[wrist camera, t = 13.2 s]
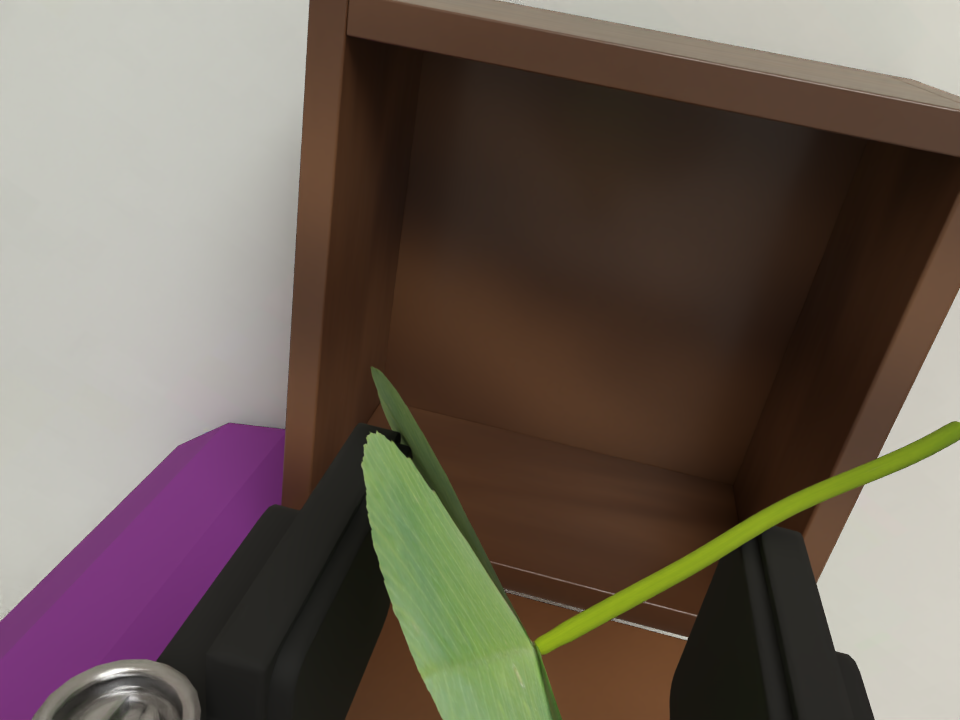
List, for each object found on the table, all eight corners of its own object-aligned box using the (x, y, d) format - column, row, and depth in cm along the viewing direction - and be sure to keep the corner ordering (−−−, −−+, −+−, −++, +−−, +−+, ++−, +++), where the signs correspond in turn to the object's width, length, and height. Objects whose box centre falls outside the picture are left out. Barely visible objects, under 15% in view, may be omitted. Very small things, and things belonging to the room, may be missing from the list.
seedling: (687, 348, 14) (363, 505, 13) (889, -43, 7) (218, 220, 6) (956, 727, 12) (577, 977, 10) (1722, 703, 4) (793, 1517, 3)
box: (410, -17, 21) (309, -16, 15) (914, 79, 20) (1041, 125, 14) (364, 402, 28) (278, 529, 21) (747, 496, 26) (779, 662, 20)
